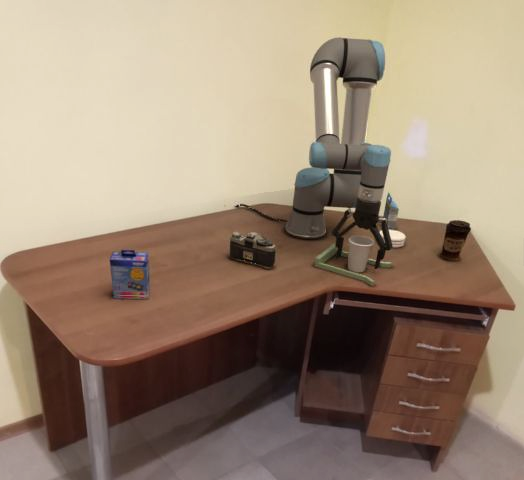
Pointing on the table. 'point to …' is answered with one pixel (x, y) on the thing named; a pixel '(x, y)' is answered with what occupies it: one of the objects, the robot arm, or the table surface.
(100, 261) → the table surface
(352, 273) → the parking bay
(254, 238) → the camera
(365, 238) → the dixie cup
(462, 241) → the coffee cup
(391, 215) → the label tape box
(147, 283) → the ink cartridge box
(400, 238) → the coaster
